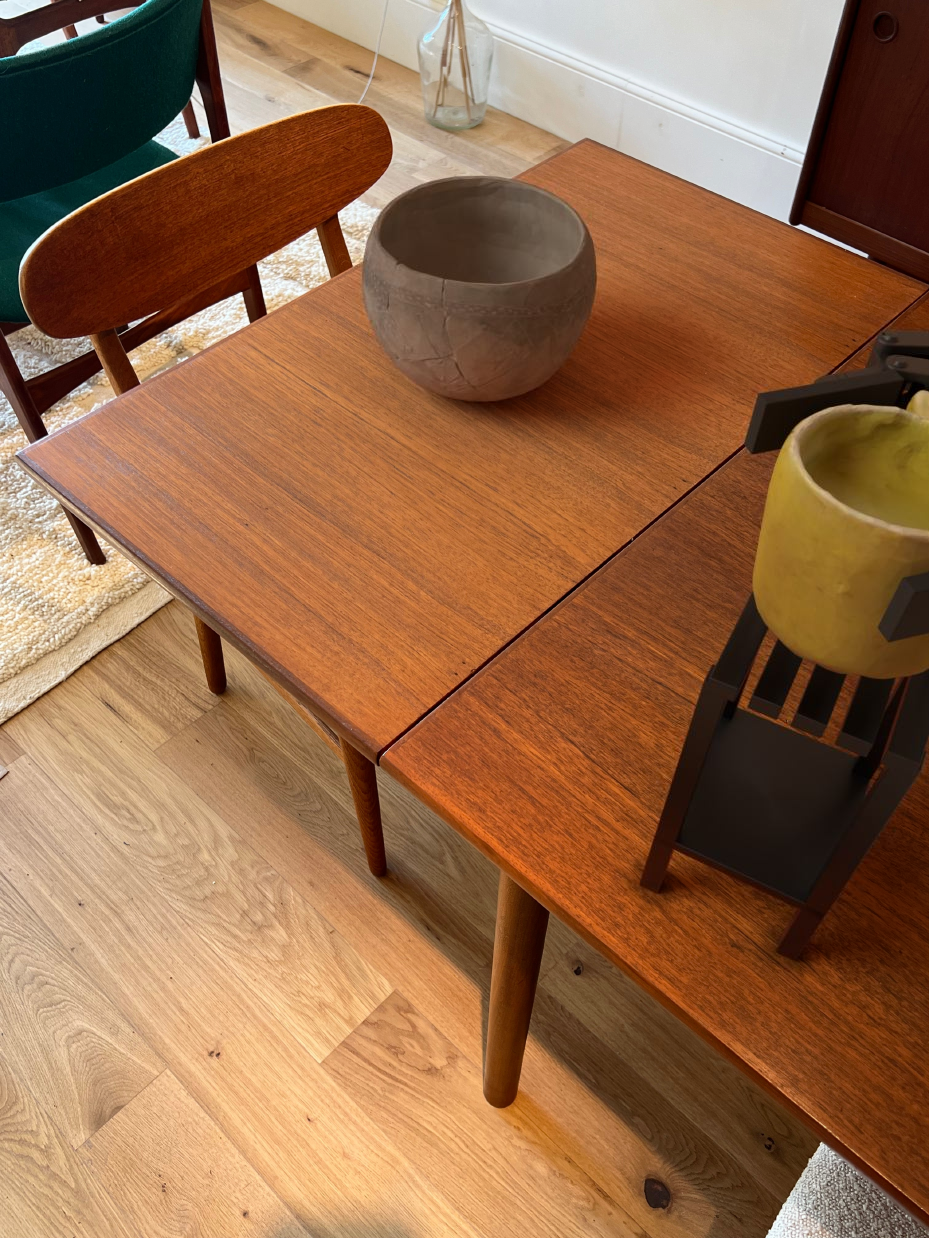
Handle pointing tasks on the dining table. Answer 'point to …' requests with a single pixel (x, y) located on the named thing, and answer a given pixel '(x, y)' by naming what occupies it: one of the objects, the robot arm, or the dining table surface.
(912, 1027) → the dining table surface
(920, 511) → the mug
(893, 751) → the rack
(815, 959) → the dining table surface
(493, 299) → the bowl
